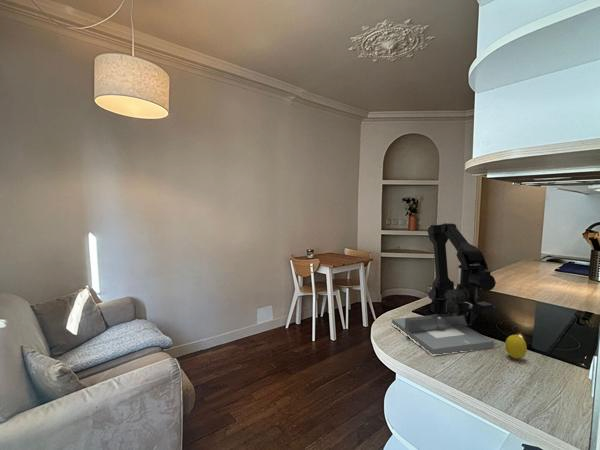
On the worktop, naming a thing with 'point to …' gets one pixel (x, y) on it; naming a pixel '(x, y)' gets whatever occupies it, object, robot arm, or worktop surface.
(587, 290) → the worktop surface
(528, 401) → the worktop surface
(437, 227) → the robot arm
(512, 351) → the lemon
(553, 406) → the worktop surface
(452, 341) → the cover plate
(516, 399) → the worktop surface
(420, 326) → the dark grey bar
